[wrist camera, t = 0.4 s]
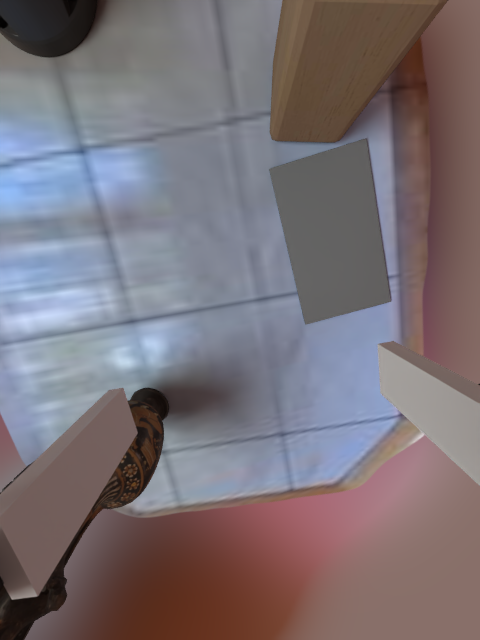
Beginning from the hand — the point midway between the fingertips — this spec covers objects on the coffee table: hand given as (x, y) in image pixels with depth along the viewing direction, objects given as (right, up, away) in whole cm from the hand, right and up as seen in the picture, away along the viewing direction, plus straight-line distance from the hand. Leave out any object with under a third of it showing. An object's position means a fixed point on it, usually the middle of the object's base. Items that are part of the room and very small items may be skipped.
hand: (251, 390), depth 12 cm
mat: (+14, +16, +25) cm, 32 cm away
